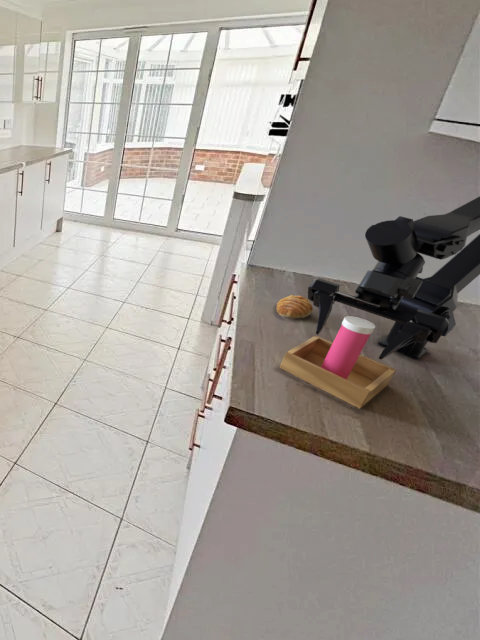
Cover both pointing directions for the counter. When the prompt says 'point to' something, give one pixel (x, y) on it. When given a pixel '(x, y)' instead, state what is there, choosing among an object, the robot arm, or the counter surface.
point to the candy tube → (348, 345)
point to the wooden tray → (354, 390)
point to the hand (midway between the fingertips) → (347, 345)
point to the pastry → (294, 307)
